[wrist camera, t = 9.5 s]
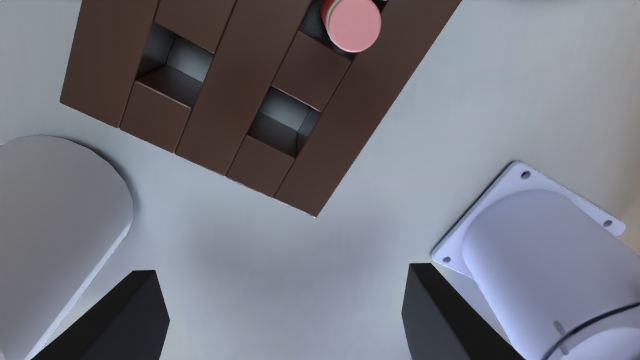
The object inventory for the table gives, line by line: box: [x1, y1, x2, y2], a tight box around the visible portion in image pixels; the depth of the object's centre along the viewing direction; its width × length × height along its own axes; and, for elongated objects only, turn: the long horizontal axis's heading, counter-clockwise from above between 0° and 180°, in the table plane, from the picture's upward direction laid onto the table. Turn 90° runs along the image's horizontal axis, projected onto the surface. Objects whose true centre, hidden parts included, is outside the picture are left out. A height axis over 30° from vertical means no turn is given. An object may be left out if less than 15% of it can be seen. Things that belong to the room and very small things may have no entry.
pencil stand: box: [60, 0, 462, 218], centre depth 15 cm, size 12×12×4 cm
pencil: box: [320, 0, 381, 52], centre depth 13 cm, size 1×1×8 cm
